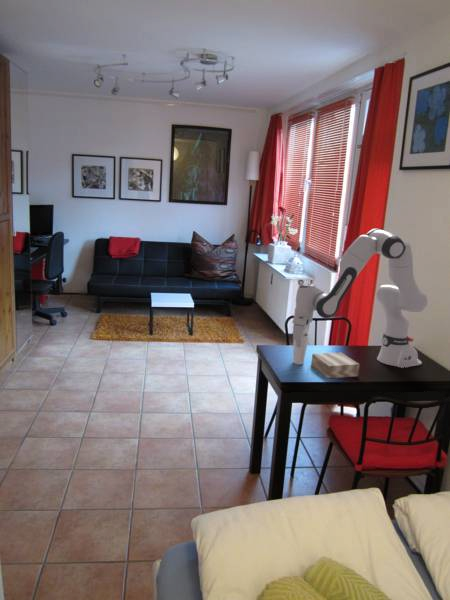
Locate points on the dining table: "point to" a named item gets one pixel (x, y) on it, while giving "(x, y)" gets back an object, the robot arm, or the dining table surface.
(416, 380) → the dining table surface
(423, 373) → the dining table surface
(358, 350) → the dining table surface
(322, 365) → the birch block
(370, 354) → the dining table surface
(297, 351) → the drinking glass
